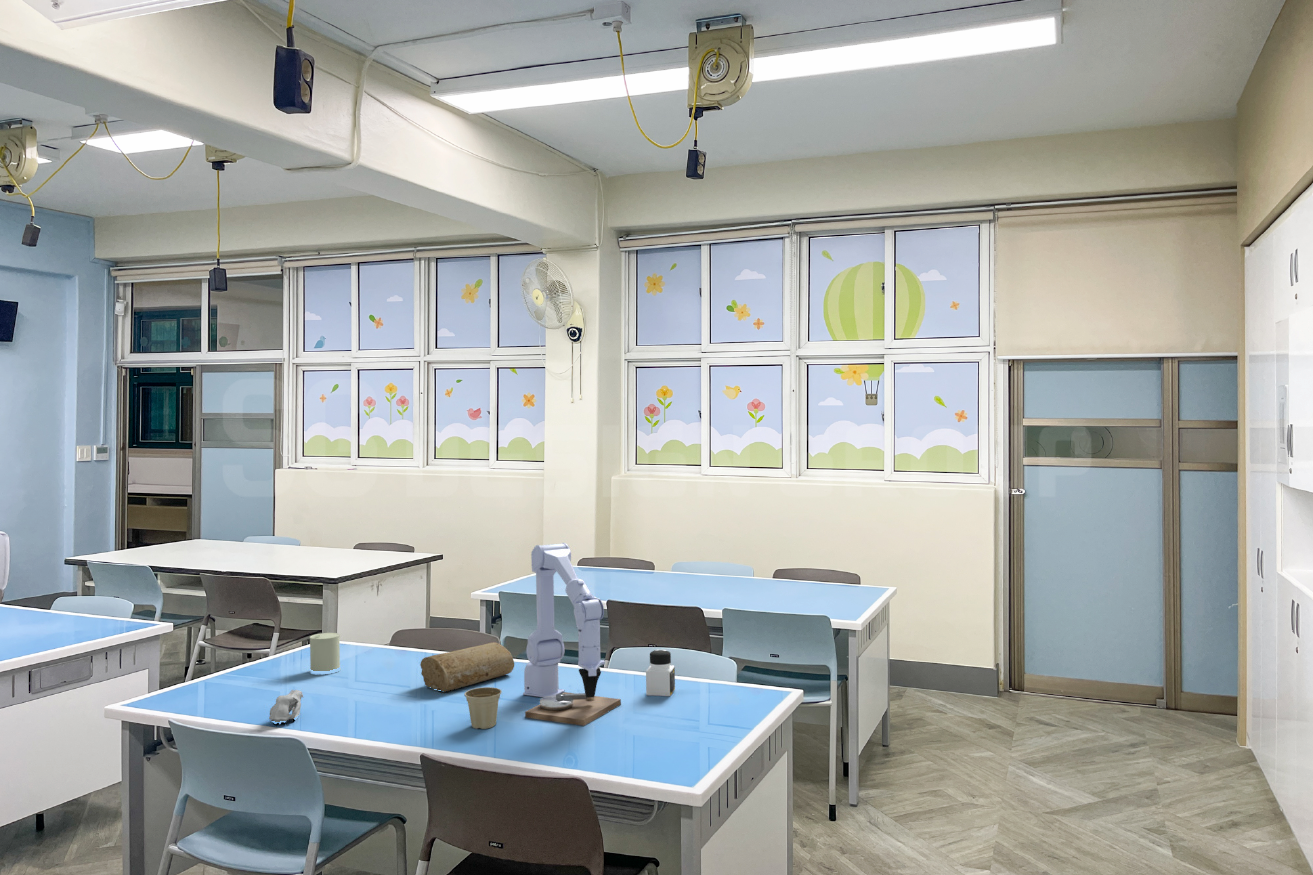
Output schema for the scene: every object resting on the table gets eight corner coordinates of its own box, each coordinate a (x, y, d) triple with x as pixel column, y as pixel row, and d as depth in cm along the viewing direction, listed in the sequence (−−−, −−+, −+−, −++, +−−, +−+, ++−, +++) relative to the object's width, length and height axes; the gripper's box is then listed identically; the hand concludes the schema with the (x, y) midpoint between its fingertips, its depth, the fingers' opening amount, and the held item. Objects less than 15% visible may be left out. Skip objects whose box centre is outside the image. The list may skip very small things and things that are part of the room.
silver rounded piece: (538, 710, 241) (538, 686, 241) (540, 700, 250) (540, 677, 250) (594, 708, 242) (594, 684, 242) (594, 698, 251) (594, 675, 251)
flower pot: (484, 733, 228) (484, 699, 228) (457, 727, 233) (456, 694, 233) (509, 723, 236) (509, 690, 236) (482, 717, 241) (482, 685, 241)
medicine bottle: (670, 696, 258) (670, 654, 258) (646, 695, 260) (645, 653, 259) (675, 689, 265) (674, 648, 265) (651, 688, 266) (650, 647, 266)
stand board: (525, 717, 241) (525, 710, 241) (565, 697, 259) (564, 691, 259) (583, 725, 233) (583, 719, 233) (620, 704, 251) (620, 698, 251)
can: (303, 672, 291) (303, 635, 291) (328, 666, 299) (328, 630, 299) (321, 676, 286) (320, 638, 286) (346, 670, 294) (345, 633, 294)
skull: (257, 718, 235) (274, 677, 244) (273, 735, 241) (289, 695, 250) (285, 717, 234) (301, 676, 243) (300, 735, 240) (315, 694, 248)
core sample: (515, 676, 284) (514, 644, 284) (446, 695, 263) (446, 661, 263) (485, 669, 292) (485, 638, 292) (416, 688, 272) (416, 654, 272)
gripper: (607, 650, 234) (608, 703, 234) (601, 638, 248) (601, 688, 248) (580, 652, 233) (581, 705, 233) (575, 639, 247) (576, 689, 247)
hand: (590, 696), depth 240 cm, fingers closed
